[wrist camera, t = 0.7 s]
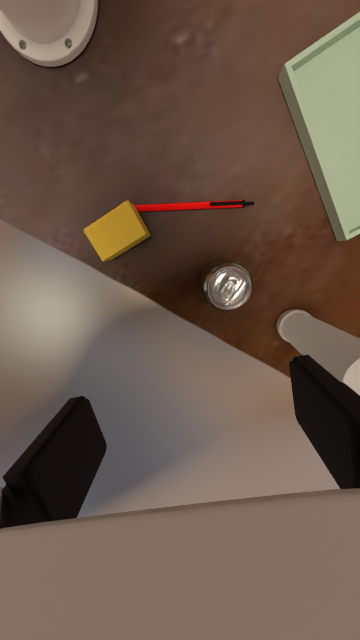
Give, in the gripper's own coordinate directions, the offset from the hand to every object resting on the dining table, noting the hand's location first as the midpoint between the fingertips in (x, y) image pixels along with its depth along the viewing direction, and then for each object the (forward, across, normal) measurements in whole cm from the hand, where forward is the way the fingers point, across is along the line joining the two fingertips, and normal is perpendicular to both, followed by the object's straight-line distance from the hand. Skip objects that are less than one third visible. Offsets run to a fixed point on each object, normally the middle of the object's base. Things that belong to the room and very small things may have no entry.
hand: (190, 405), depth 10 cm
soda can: (+26, -4, -2) cm, 26 cm away
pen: (+26, -2, -13) cm, 29 cm away
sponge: (+26, +8, -12) cm, 29 cm away
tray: (+26, -24, -15) cm, 38 cm away
